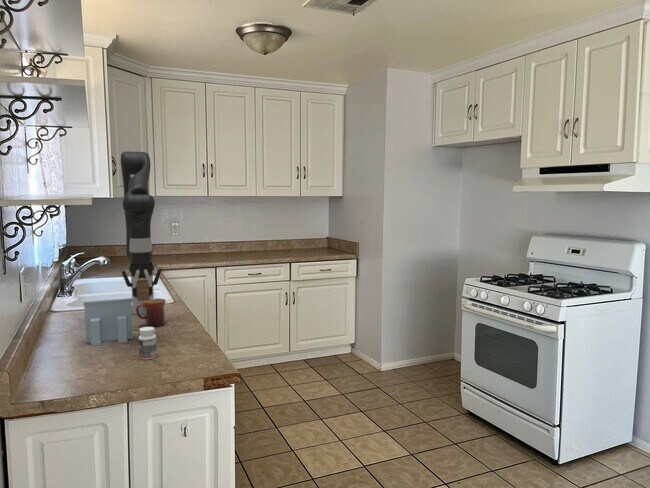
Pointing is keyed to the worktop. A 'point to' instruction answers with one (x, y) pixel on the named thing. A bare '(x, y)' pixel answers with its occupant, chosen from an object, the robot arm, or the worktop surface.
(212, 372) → the worktop surface
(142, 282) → the bed rail
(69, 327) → the worktop surface
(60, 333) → the worktop surface
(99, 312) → the grey two-legged bench
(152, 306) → the mug
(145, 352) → the pill bottle
